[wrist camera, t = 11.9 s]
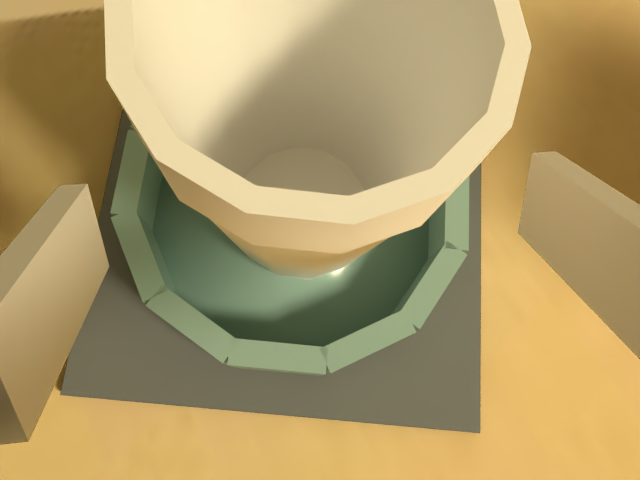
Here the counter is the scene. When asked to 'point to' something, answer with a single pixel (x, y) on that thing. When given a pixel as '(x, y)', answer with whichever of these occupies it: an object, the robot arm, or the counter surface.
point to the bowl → (278, 280)
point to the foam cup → (316, 112)
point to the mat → (280, 387)
